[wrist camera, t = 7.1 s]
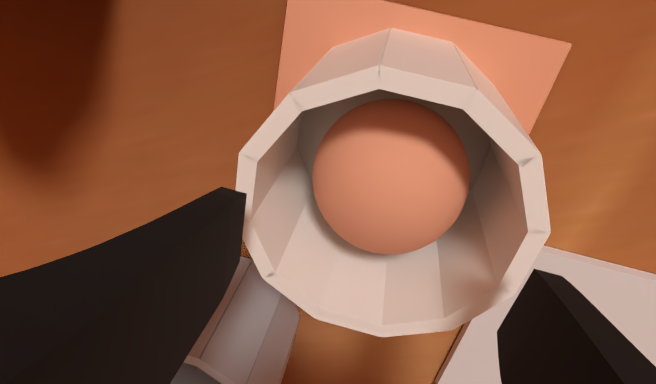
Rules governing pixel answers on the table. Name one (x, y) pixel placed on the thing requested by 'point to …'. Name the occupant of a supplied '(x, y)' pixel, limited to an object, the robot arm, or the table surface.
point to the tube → (443, 98)
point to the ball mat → (586, 276)
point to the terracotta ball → (391, 176)
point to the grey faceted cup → (244, 335)
